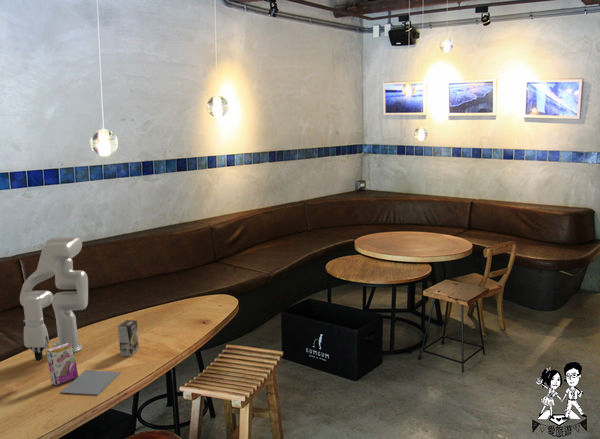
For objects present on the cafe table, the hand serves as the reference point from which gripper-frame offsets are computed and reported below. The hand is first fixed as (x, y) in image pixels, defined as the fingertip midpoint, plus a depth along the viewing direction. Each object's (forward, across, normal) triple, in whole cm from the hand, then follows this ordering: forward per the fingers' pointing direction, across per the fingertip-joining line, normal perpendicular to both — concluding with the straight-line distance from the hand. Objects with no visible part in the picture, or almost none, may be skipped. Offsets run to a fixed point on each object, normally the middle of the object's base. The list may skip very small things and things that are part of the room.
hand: (39, 359), depth 275 cm
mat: (+10, +25, 0) cm, 27 cm away
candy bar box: (+10, +12, 0) cm, 16 cm away
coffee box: (+10, +28, +34) cm, 45 cm away
